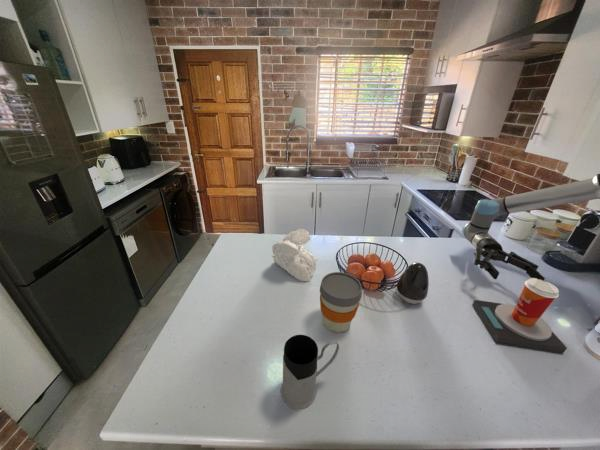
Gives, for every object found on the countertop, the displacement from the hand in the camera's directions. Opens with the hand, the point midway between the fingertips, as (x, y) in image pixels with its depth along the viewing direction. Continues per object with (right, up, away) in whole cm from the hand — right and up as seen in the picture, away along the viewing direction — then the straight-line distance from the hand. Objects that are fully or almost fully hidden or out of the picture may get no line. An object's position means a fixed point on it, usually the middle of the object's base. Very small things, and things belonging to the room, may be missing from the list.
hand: (519, 278), depth 82 cm
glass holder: (-71, -22, -20) cm, 77 cm away
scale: (-3, -15, -2) cm, 16 cm away
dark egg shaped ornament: (-33, -9, +9) cm, 35 cm away
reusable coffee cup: (-61, -13, -2) cm, 63 cm away
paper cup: (-2, -13, -3) cm, 13 cm away
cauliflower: (-76, 0, +23) cm, 79 cm away
